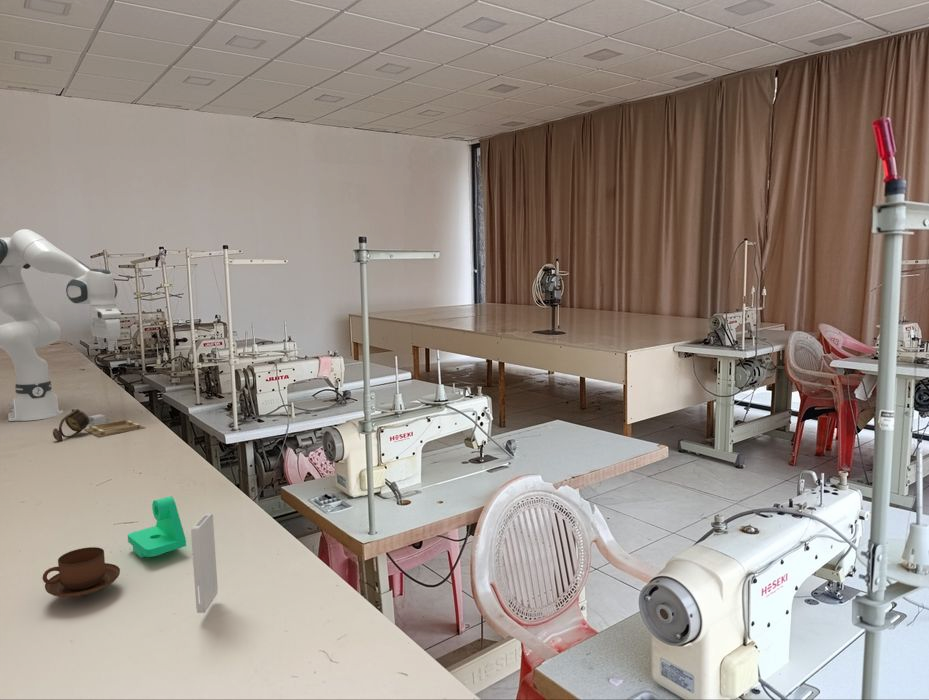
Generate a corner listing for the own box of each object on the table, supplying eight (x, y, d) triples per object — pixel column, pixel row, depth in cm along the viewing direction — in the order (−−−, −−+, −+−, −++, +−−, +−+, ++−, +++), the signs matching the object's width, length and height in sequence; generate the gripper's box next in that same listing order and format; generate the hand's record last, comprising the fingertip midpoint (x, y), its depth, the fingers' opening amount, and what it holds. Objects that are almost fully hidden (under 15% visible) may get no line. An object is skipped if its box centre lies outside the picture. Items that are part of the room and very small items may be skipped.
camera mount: (127, 545, 139) (123, 499, 138) (163, 535, 145) (160, 490, 143) (148, 563, 131) (144, 513, 130) (186, 551, 136) (183, 503, 135)
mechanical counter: (95, 433, 237) (93, 406, 236) (71, 443, 224) (68, 414, 223) (76, 433, 238) (74, 406, 236) (51, 442, 225) (48, 414, 224)
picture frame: (84, 432, 240) (84, 426, 240) (130, 424, 251) (130, 418, 251) (98, 438, 230) (98, 432, 229) (146, 430, 241) (145, 424, 241)
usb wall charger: (88, 426, 249) (87, 416, 248) (106, 422, 255) (105, 412, 254) (95, 427, 247) (94, 417, 246) (112, 423, 253) (111, 413, 252)
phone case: (210, 593, 118) (205, 512, 116) (218, 592, 118) (213, 512, 116) (196, 614, 111) (190, 529, 109) (204, 614, 111) (198, 528, 109)
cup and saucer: (69, 610, 113) (66, 576, 112) (31, 594, 119) (28, 561, 118) (134, 580, 123) (132, 549, 122) (96, 567, 129) (93, 537, 128)
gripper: (85, 312, 249) (88, 348, 250) (103, 314, 235) (107, 352, 236) (103, 311, 253) (106, 346, 255) (122, 313, 239) (125, 350, 241)
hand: (106, 349), depth 246 cm, fingers open, 8 cm apart
